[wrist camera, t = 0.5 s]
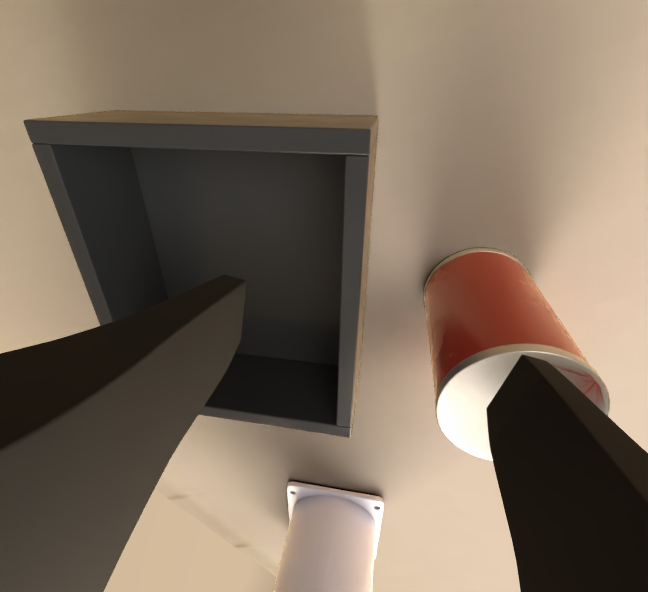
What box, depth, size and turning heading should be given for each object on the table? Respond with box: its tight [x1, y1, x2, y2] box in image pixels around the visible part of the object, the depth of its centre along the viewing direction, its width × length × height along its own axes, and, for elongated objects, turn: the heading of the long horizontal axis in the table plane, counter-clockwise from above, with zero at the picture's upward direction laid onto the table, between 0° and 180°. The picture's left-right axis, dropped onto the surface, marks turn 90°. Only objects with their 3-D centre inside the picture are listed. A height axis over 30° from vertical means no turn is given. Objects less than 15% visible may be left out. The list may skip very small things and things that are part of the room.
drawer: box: [24, 110, 379, 438], centre depth 18 cm, size 15×13×5 cm
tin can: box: [423, 248, 610, 461], centre depth 16 cm, size 5×5×8 cm
